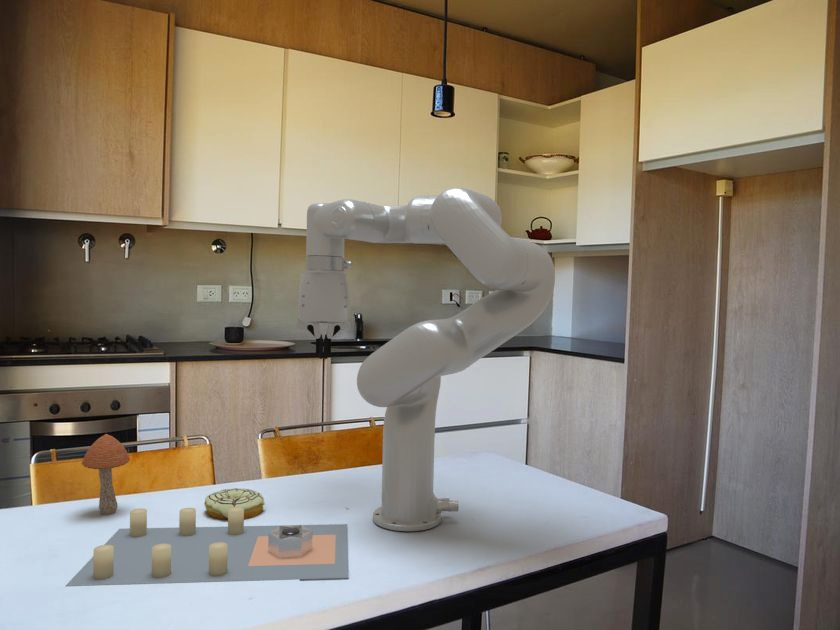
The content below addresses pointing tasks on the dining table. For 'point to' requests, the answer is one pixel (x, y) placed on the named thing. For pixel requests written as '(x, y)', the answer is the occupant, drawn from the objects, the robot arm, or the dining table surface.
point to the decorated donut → (234, 502)
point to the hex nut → (290, 541)
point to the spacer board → (199, 557)
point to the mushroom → (106, 468)
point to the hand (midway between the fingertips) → (323, 357)
